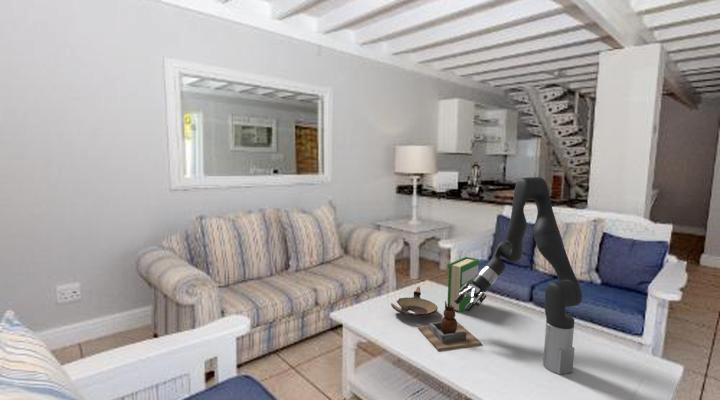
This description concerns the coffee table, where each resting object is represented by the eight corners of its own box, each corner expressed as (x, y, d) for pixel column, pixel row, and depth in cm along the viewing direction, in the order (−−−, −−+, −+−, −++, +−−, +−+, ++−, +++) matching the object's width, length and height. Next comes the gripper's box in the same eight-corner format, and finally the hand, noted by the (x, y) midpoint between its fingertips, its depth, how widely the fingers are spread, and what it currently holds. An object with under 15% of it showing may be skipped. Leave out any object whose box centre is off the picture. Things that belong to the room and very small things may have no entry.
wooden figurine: (439, 334, 167) (440, 301, 165) (442, 329, 172) (444, 297, 170) (454, 338, 164) (456, 305, 162) (458, 332, 169) (459, 300, 167)
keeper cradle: (481, 344, 161) (481, 335, 161) (437, 350, 156) (438, 341, 156) (457, 323, 180) (457, 315, 180) (417, 328, 175) (418, 320, 175)
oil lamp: (382, 317, 187) (382, 301, 186) (410, 297, 212) (411, 284, 211) (424, 329, 175) (424, 313, 174) (449, 307, 199) (450, 293, 198)
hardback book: (460, 313, 192) (462, 266, 189) (447, 309, 197) (449, 263, 194) (476, 303, 205) (478, 259, 202) (463, 299, 210) (465, 256, 207)
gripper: (471, 268, 175) (447, 295, 173) (489, 278, 161) (464, 307, 160) (480, 279, 177) (457, 305, 175) (499, 289, 164) (474, 318, 162)
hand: (460, 306), depth 168 cm, fingers open, 8 cm apart
